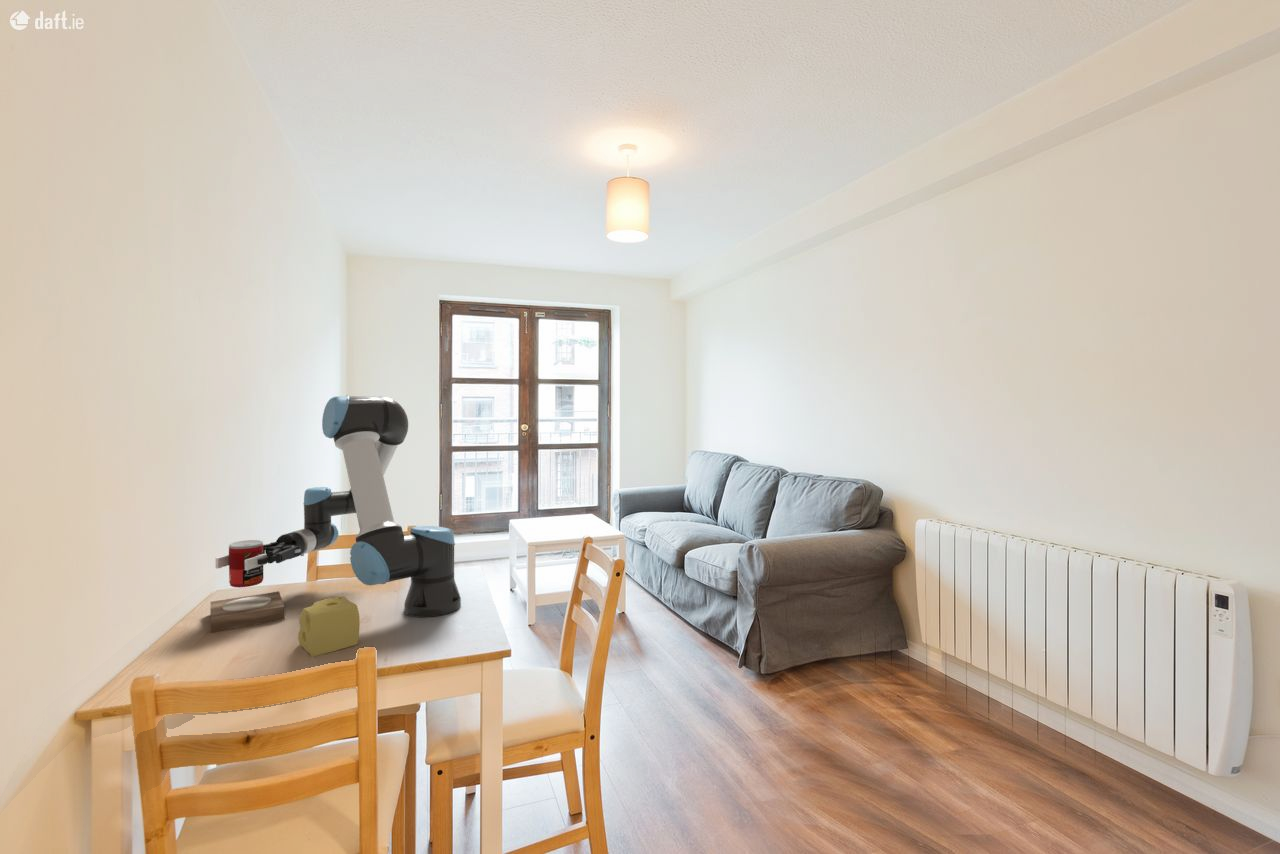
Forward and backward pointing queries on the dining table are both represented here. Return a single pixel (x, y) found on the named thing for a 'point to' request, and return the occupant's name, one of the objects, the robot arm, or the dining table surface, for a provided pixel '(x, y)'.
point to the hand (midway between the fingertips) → (231, 564)
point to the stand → (246, 611)
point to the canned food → (237, 563)
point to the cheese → (329, 626)
